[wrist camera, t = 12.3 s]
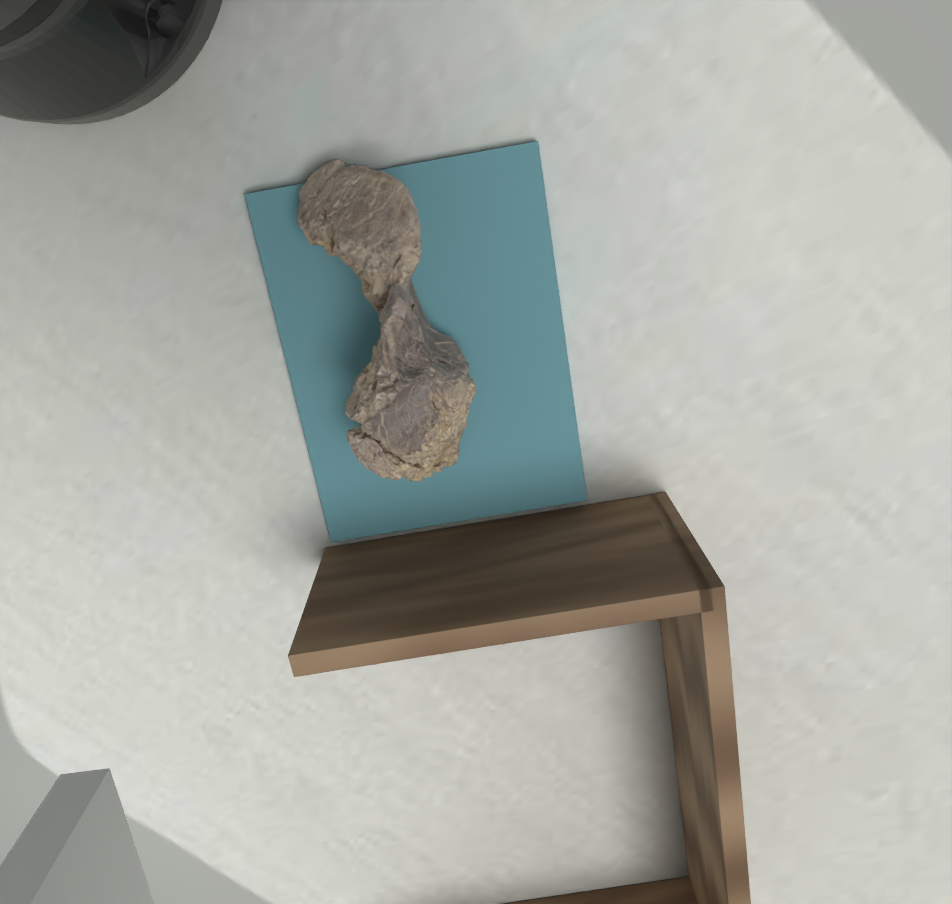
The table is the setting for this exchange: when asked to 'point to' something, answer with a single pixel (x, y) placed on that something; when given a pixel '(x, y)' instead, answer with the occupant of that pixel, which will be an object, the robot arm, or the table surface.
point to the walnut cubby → (555, 613)
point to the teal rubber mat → (450, 313)
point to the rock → (390, 325)
